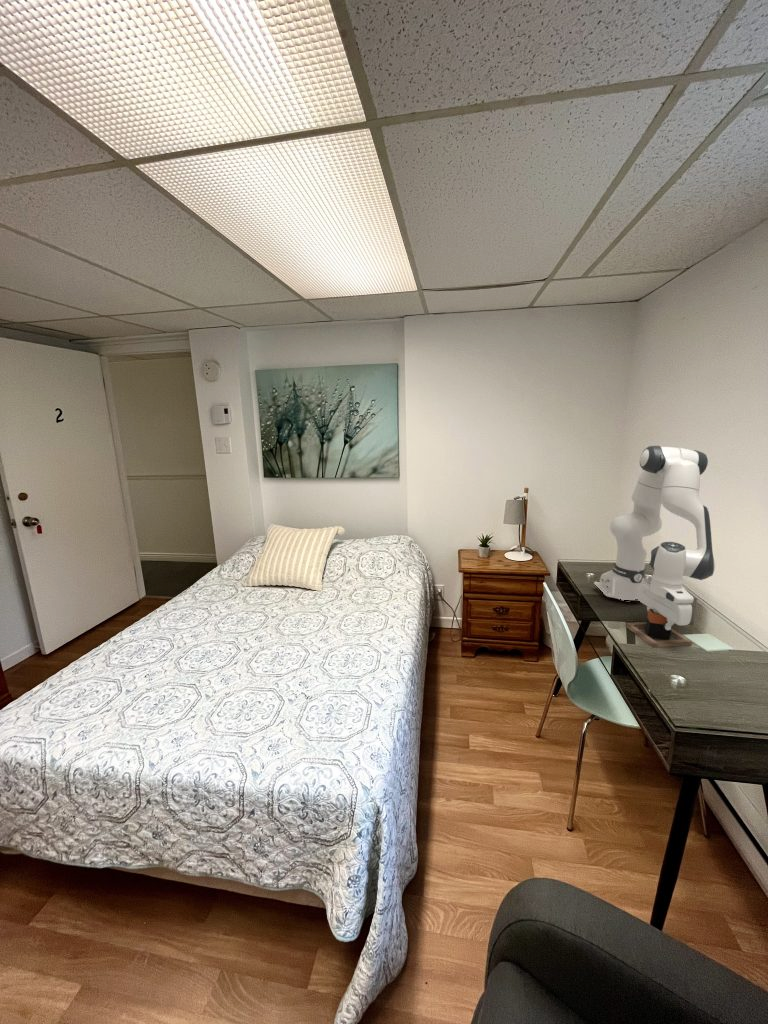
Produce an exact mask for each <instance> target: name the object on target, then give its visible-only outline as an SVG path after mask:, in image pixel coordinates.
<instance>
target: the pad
mask: <svg viewBox="0 0 768 1024" xmlns="http://www.w3.org/2000/svg"><path fill="white" fill-rule="evenodd" d="M682 635H683V636H684V637H686V638H687V639H689V640H690V641H692V643H693V644H694V645H695V646H697V647H698V648H700V649H702V650H703V651H705V652H708V653H709V652H729V650H731V651H734V650H735V648H734V647H731V646H730V645H728V644H727V643H724V641H721V640H720V639H718V638H716V637H715V636H713V635H712V634H710V633H693V634H682Z"/></svg>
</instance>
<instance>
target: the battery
mask: <svg viewBox="0 0 768 1024" xmlns="http://www.w3.org/2000/svg"><path fill="white" fill-rule="evenodd" d="M645 622H646V628H644V629H645V630H644V631H645V632H644V633H645V634H646V635H647V636H649V637H650V638H653V639H654V638H655V639H660V640H661V639H662V640H671V636H672V635H671V630H672V629H673V625H672V626H671V630H666V629H664V628H663V625H664V624H666V623H667V622H668V621H667V618H666V617H664V616H662V615H661V614H659V613H658V612H657V611H656V610H654V609H649V610H647V617H646V621H645Z"/></svg>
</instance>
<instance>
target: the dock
mask: <svg viewBox="0 0 768 1024" xmlns="http://www.w3.org/2000/svg"><path fill="white" fill-rule="evenodd" d="M646 622H647V621H645V622H643V621H642V622H626V623H625V628H626V629H628V630H629V631H630V632H632V633H634V634H635V635H636V636H638V637H639V638H640V639H642V640H643V641H645V643H647V644H648V645H650V646H651V647H652V648H667V647H685V646H686V647H687V646H688V647H690V646H692V645H693V644H692V641H690V640H689V639H687V638H686V637H684V636H683V635H684V634H681V633H679V632H678V631H677V630H675V629H673V628H672V630H671V635H670V636H672V637H674V638H675V639H669V640H667V639H662V640H654V638H653V637H649V636H648V635H647V633H646V632H643V631H642V630H641V629H645V628H646Z"/></svg>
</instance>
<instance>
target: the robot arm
mask: <svg viewBox="0 0 768 1024" xmlns="http://www.w3.org/2000/svg"><path fill="white" fill-rule="evenodd" d="M708 463H709V459H708V457H707V455H706V453H704V452H702V451H700V450H696V449H695V450H692V449H688V448H685V447H684V448H683V447H677V446H675V447H674V446H661V445H649V446H647V447H646V448H644V450H642V453H641V455H640V458H639V466H640V468H641V469H642V470H641V472H640V475H639V477H638V479H637V482H636V485H635V487H634V490H633V493H632V496H631V500H632V502H633V510H632V512H631V513H624V514H621V515H618V516H617V517H615V518H613V520H611V522H610V526H609V529H610V532H611V534H612V535H613V536H614V538H615V539H616V544H617V550H616V551H617V552H616V553H617V554H616V562H613V563H611V566H613V567H612V569H611V570H609V571H607V572H603V573H602V574H601V576H600V578H599V581H600V582H597V581H598V580H596V581H594V582H593V585H594V584H595V585H596V586H597V587H598V588H599V589H600V590H601V591H602V592H603V595H604V596H606V597H607V598H613V599H618V600H620V599H621V600H620V601H624V600H635V599H638V601H640V603H642V604H643V605H645V606H646V611H648V610H649V609H654V610H656V611H657V612H658V613H659V614H661V615H662V616H664V617H666V618H667V621H668V622H667V623H666V624H664V625H663V628H664V629H666V630H671V626H672V627H673V625H675V624H676V625H677V626H687V625H689V624H691V620H692V616H693V615H692V613H693V607H692V604H693V603H694V600H695V599H694V597H693V595H691V594H690V592H688V591H687V589H686V588H685V587H684V586H683V577H689V578H691V579H695V580H699V581H702V580H703V581H704V580H706V579H708V578H710V577H712V576H713V575H714V574H715V573H714V572H715V570H716V561H715V558H714V553H713V543H712V542H713V541H712V531H711V530H712V529H711V527H712V526H711V519H710V517H711V516H710V513H709V508H708V507H707V506H705V505H704V504H702V502H701V499H700V496H699V495H700V485H701V475H702V474H704V472H705V471H706V469H707V467H708ZM661 506H663V507H664V509H666V510H667V511H668V512H669V513H671V514H674V515H675V516H678V517H680V518H683V519H684V520H687V521H689V522H690V523H691V524H693V526H694V527H695V533H696V549H687V548H686V546H685V545H683V544H682V543H679V542H674V541H663V542H661V543H660V544H659V545H658V546H656V547H654V548H653V549H651V552H650V561H649V564H648V565H649V566H650V568H651V569H652V570H653V574H652V575H651V579H649V578H644V577H645V574H646V568H645V567H646V561H647V550H646V549H645V548H644V546H643V537H648V536H652V535H653V534H656V533H657V532H659V531H660V530H661V529H662V526H663V521H662V518H661V517H660V516H661ZM595 585H594V586H595ZM596 586H595V587H596ZM597 587H596V588H597ZM598 588H597V589H598ZM599 589H598V590H599ZM600 590H599V591H600ZM602 592H601V593H602Z"/></svg>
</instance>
